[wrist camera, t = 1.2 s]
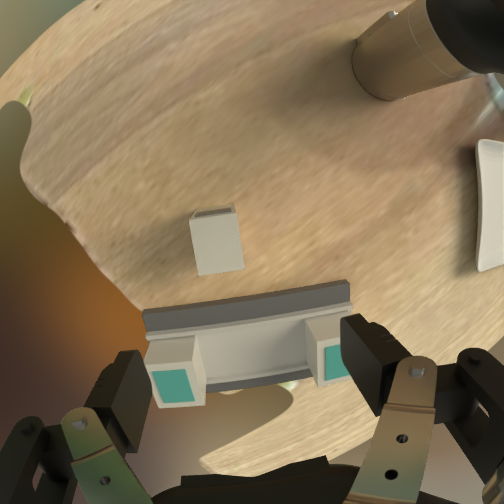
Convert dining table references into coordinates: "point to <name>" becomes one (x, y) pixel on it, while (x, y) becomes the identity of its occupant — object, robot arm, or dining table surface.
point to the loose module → (216, 240)
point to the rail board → (246, 342)
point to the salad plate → (490, 204)
